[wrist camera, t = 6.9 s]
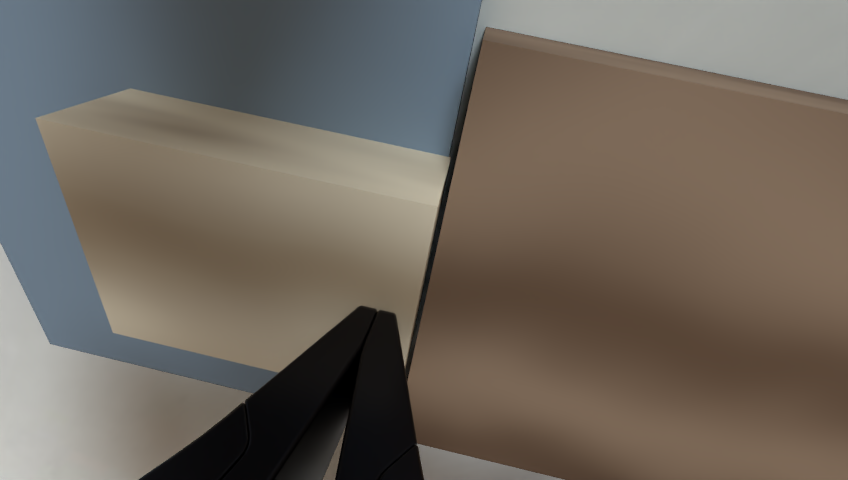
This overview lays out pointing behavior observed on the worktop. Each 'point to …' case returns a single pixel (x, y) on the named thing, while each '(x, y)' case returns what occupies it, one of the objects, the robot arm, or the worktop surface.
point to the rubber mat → (216, 86)
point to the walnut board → (639, 273)
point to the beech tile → (241, 224)
